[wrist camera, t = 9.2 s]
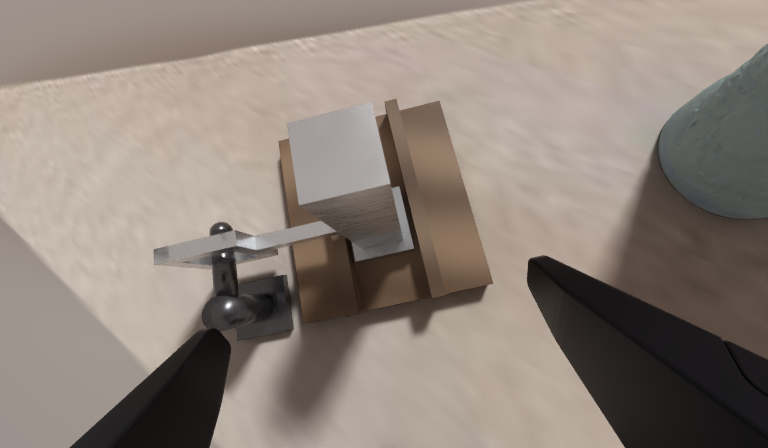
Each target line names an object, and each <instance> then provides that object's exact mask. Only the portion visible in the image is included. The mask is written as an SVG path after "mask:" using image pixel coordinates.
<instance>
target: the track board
mask: <svg viewBox="0 0 768 448" xmlns="http://www.w3.org/2000/svg"><path fill="white" fill-rule="evenodd" d="M385 107H386V113H387V114H385V115H381V116H377V117H375V119H376V123H377V127H378V132H379V136H380V140H381V145H382V149H383V153H384V158H385V162H386V166H387V171H388V175H389V179H390V184H391V188H394V187H398V186H399V187H400V191H401V196H402V200H403V204H404V208H405V212H406V217H407V221H408V225H409V229H410V234H411V238H412V242H413V246H414V251H409V252H405V253H400V254H396V255H391V256H387V257H382V258H378V259H373V260H369V261H364V262H360V263H358V262H355V257H354V252H353V246H352V242H351V241H350V240H348V239H347V238H345V237H344V236H343V235H341V234H339V235H334V236H330V237H326V238H321V239H317V240H313V241H308V242H304V243H300V244H295V245H293V251H294V258H295V265H296V273H297V280H298V287H299V295H300V302H301V309H302V316H303V324H307V323H311V322H316V321H321V320H325V319H330V318H335V317H339V316H344V315H345V317H346V316H350V315H355V314H359V313H361V312H363V311H368V310H372V309H377V308H382V307H386V306H391V305H396V304H400V303H405V302H410V301H414V300H419V299H424V298H428V297H432V298H435V297H439V296H444V295H446V294H447V293H452V292H456V291H461V290H466V289H470V288H475V287H480V286H485V285H489V284H493V281H492V278H491V274H490V271H489V268H488V264H487V261H486V258H485V254H484V251H483V247H482V244H481V241H480V237H479V234H478V230H477V227H476V224H475V220H474V217H473V213H472V210H471V207H470V203H469V200H468V196H467V193H466V190H465V186H464V183H463V179H462V176H461V173H460V169H459V166H458V162H457V159H456V156H455V152H454V149H453V145H452V142H451V139H450V135H449V132H448V128H447V125H446V122H445V118H444V115H443V111H442V108H441V105H440V101H436V102H433V103H429V104H425V105H421V106H417V107H413V108H409V109H405V110H401V111H399V107H398V103H397V100H396V99H393V100H390V101H386V102H385ZM279 149H280V156H281V163H282V170H283V178H284V185H285V192H286V200H287V207H288V214H289V222H290V228H292V227H297V226H301V225H305V224H310V223H314V222H318V221H321V220H319V219H318V218H317V217H315V216H314V215H312V214H311V213H309V212H308V211H306V210H305V209H303V208H302V207H301V206H299V203H298V196H297V189H296V182H295V175H294V169H293V162H292V155H291V148H290V141H289V139H286V140H282V141H279Z"/></svg>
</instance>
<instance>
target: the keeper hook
mask: <svg viewBox="0 0 768 448" xmlns="http://www.w3.org/2000/svg"><path fill="white" fill-rule="evenodd" d="M230 231H233V229H232V227H231V226H230V225H229V224H228V223H225V222H218V223H216V224H214V225H213V226H212V227H211V229H210V236H213V235H217V234H221V233H226V232H230ZM211 259H212V273H213V288H214V298H212V299H210V300H209V301H208V302H207V303H206V305H205V306H204V309H203V312H202V320H203V323H204V325H205V327H206V328H211V327H215V328H217V329H218V330H219V331H224V330H228V329H232V328H237V340H238V341H240V340H245V339H249V338H254V337H259V336H263V335H268V334H273V333H277V332H282V331H287V330H291V329H294V327H293V319H292V312H291V304H290V296H289V288H288V281H287V275H280V276H276V277H271V278H267V279H263V280H258V281H254V282H249V283H245V284H240V285H238V279H237V268H236V257H235V252H233V251H230V252H226V253H221V254H217V255H213V256H211Z"/></svg>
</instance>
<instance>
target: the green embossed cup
mask: <svg viewBox="0 0 768 448" xmlns="http://www.w3.org/2000/svg"><path fill="white" fill-rule="evenodd" d="M658 155H659V159H660V163H661V166H662V169H663V171H664V173H665V175H666V177H667V179H668V180H669V182H670V183H671V184H672V185H673V187H674V188H675V189H676V190H677V191H678V192H679V193H680V194H681V195H682V196H683V197H684V198H686V199H687V200H689V201H690V202H691V203H693V204H694V205H696V206H698V207H700V208H702V209H704V210H706V211H708V212H711V213H714V214H717V215H720V216H724V217H730V218H737V219H757V218H767V217H768V44H767V45H765V46H764V47H763V48H762V49H761V50H760V51H759V52H757V53H756V54H755V55H754V56H753V57H752V58H751V59H750V60H748V61H747V62H745V63H744V64H743V65H742V66H741V67H739V68H738V69H737V70H736V71H735V72H733V73H732V74H730V75H728V76H726V77H724V78H722V79H720V80H719V81H717V82H715V83H713V84H712V85H711V86H709V87H708V88H706V89H705V90H703V91H702V92H701V93H699V94H698V95H697V96H695V97H694V98H693V99H691V100H690V101H689V102H687V103H686V104H685V105H684V106H682V107H681V108H680V109H678V110H677V111H676V112H675V113H674V114H673V115H672V116H671V118H670V119H669V120H668V121H667V123H666V124H665V126H664V127H663V130H662V132H661V135H660V138H659V145H658Z"/></svg>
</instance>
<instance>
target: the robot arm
mask: <svg viewBox="0 0 768 448" xmlns="http://www.w3.org/2000/svg"><path fill="white" fill-rule="evenodd" d="M527 283H528V287H529V289H530V291H531V293H532V295H533V297H534V299H535V301H536V303H537V305H538V307H539V309H540V311H541V313H542V315H543V317H544V319H545V321H546V323H547V325H548V327H549V329H550V331H551V333H552V334H553V336H554V338H555V340H556V342H557V343H558V345H559V346H560V348H561V350H562V351H563V353H564V354H565V356H566V357H567V359H568V360H569V362H570V363H571V365H572V367H573V368H574V370H575V371H576V373H577V374H578V376H579V377H580V379H581V380H582V382H583V384H584V385H585V387H586V388H587V390H588V391H589V393H590V394H591V396H592V397H593V399H594V400H595V402H596V404H597V405H598V407H599V408H600V410H601V411H602V413H603V414H604V416H605V417H606V419H607V421H608V422H609V424H610V425H611V427H612V428H613V430H614V431H615V433H616V434H617V436H618V437H619V439H620V441H621V442H622V444H623V445H624V447H625V448H768V359H766V358H764V357H762V356H759V355H757V354H755V353H753V352H751V351H749V350H746V349H744V348H742V347H740V346H738V345H736V344H734V343H732V342H729V341H723V339H722V338H721V337H719V336H716V335H714V334H712V333H710V332H708V331H706V330H704V329H702V328H699V327H697V326H695V325H693V324H691V323H689V322H687V321H684V320H682V319H680V318H678V317H676V316H674V315H672V314H670V313H667V312H665V311H663V310H661V309H659V308H657V307H655V306H653V305H650V304H648V303H646V302H644V301H642V300H640V299H638V298H636V297H633V296H631V295H629V294H627V293H625V292H623V291H621V290H619V289H616V288H614V287H612V286H610V285H608V284H606V283H604V282H602V281H599V280H597V279H595V278H593V277H591V276H589V275H587V274H584V273H582V272H580V271H578V270H576V269H574V268H572V267H570V266H567V265H565V264H563V263H561V262H559V261H557V260H555V259H553V258H550V257H548V256H544V255H543V256H538V257H534V258H531V259H529V261H528V273H527ZM230 355H231V346H230V343H229V342H228V341H227V339H226V338H225V337H224V336H223V335H222V334H221V332H220V331H219V330H218V329H217V328H215V327H211V328H206V329H202V330H199V331H198V332H197V333H195V334H194V335H193V336H192V337H191V338H190V339H189V340H188V341H187V342H186V343H184V344H183V345H182V346H181V347H180V348H179V349H178V350H177V351H176V352H174V353H173V354H172V355H171V356H170V357H169V358H168V359H167V360H166V361H165V362H163V363H162V364H161V365H160V366H159V367H158V368H157V369H156V370H155V371H154V372H152V373H151V374H150V375H149V376H148V377H147V378H146V379H145V380H144V381H143V382H142V383H140V384H139V385H138V386H137V387H136V388H135V389H134V390H133V391H132V392H130V393H129V394H128V395H127V396H126V397H125V398H124V399H123V400H122V401H121V402H119V403H118V404H117V405H116V406H115V407H114V408H113V409H112V410H111V411H109V412H108V413H107V414H106V415H105V416H104V417H103V418H102V419H101V420H100V421H98V422H97V423H96V424H95V425H94V426H93V427H92V428H91V429H90V430H88V432H86V433H85V434H84V435H83V436H82V437H81V438H80V439H79V440H77V441H76V442H75V443H74V444H73V445H72V446H71V447H70V448H209V447H210V444H211V440H212V437H213V433H214V429H215V426H216V422H217V419H218V415H219V411H220V407H221V403H222V398H223V393H224V387H225V382H226V376H227V371H228V366H229V360H230Z"/></svg>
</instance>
